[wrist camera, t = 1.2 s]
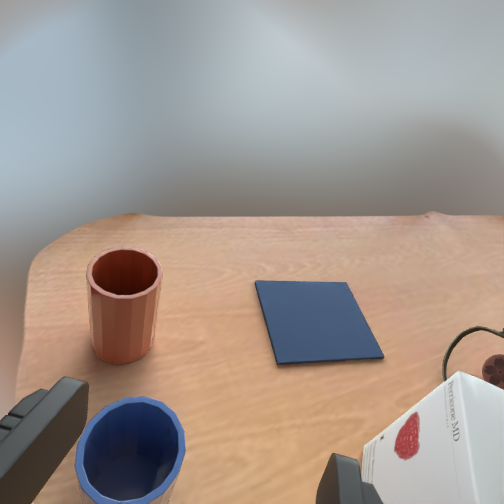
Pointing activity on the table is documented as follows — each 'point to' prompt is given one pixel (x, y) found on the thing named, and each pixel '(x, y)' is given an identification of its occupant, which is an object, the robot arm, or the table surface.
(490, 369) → the binoculars
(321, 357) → the blue mat
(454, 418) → the rectangular carton
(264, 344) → the table surface
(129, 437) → the blue tumbler
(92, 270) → the terracotta tumbler
